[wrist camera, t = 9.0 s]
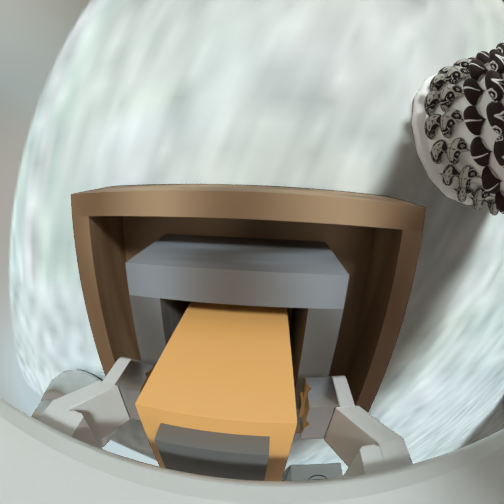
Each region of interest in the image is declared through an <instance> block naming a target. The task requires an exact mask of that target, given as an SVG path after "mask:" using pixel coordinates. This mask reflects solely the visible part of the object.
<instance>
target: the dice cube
mask: <svg viewBox="0 0 504 504" xmlns="http://www.w3.org/2000/svg"><path fill="white" fill-rule="evenodd" d="M342 477H343V475H342V469H341V463H330V464H310V465H291V466H290V469H289V471H288V473H287V476H286V478H285V480H284V481H308V480H323V479H334V478H342Z"/></svg>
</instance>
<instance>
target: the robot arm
mask: <svg viewBox="0 0 504 504" xmlns="http://www.w3.org/2000/svg"><path fill="white" fill-rule="evenodd" d="M155 365H156V364H154V363H149V362H144V361H140V360H135V359H129V358H125V357H120V358H119V359H118V360H117V361H116V363H115V364H114V366H113V367H112V368H111V370H110V371H109V373H108V374H107V375H106V377H105V378H104V380H103V381H97V382H95V383H93V384H90V385H88V386H86V387H84V388H81V389H79V390H77V391H74V392H72V393H69V394H67V395H65V396H62V397H60V398H57V399H55V400H53V401H52V402H51V403H50V404H49V406H48V407H47V408H46V410H45V411H44V412H43V414H42V415H41V416H40V417H39V419H38V420H37V419H35V418H33V417H31V416H29V415H28V414H26V413H24V412H23V411H21V410H19V409H18V408H16V407H14V406H13V405H11V404H10V403H8V402H6V401H5V400H3V399H2V398H0V504H504V429H502V430H500V431H498V432H496V433H494V434H492V435H490V436H488V437H486V438H483V439H481V440H479V441H477V442H474V443H472V444H470V445H467V446H465V447H462V448H460V449H457V450H455V451H452V452H449V453H446V454H444V455H441V456H438V457H435V458H431V459H428V460H425V461H422V462H418V463H415V464H413V463H412V461H411V458H410V455H409V452H408V450H407V447H406V444H405V442H404V439H403V438H402V437H401V436H399V435H398V434H396V433H395V432H394V431H392V430H391V429H389V428H388V427H387V426H385V425H384V424H383V423H381V422H380V421H378V420H377V419H376V418H374V417H373V416H372V415H370V414H369V413H368V412H366V411H365V410H364V409H362V408H361V407H360V406H355V405H354V401H353V398H352V395H351V392H350V389H349V385H348V382H347V379H346V377H345V376H331V377H330V376H326V377H304V378H303V382H302V390H303V391H302V392H301V393H300V397H299V405H298V409H299V417H300V418H301V422H300V434H301V439H322V438H324V440H325V441H326V442H327V444H328V445H329V446H330V447H331V448H332V449H333V450H334V451H335V453H336V454H337V455H338V456H339V457H340V458H341V459H342V460H343V461H344V463H345V464H346V465H347V466H348V467H349V468H348V469H347V471H346V472H345V474H344V475H343V477H342V478H334V479H323V480H308V481H255V480H240V479H229V478H220V477H212V476H205V475H198V474H192V473H187V472H181V471H176V470H172V469H167V468H163V467H158V466H154V465H150V464H147V463H143V462H139V461H136V460H133V459H129V458H126V457H123V456H120V455H116V454H114V453H111V452H108V451H105V450H103V449H102V448H101V446H100V444H99V443H98V441H100V440H101V439H103V438H104V437H106V436H107V435H109V434H110V433H111V432H113V431H114V430H116V429H117V428H119V427H120V426H122V425H123V424H124V423H126V422H127V421H129V420H130V419H135V420H139V421H141V419H140V417H139V414H138V411H137V408H136V405H135V403H136V401H137V399H138V397H139V395H140V393H141V392H142V390H143V388H144V386H145V384H146V382H147V380H148V378H149V376H150V375H151V373H152V371H153V369H154V367H155Z"/></svg>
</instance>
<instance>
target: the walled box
mask: <svg viewBox="0 0 504 504" xmlns="http://www.w3.org/2000/svg"><path fill="white" fill-rule="evenodd" d="M71 206H72V220H73V230H74V239H75V248H76V255H77V262H78V268H79V274H80V280H81V285H82V291H83V296H84V300H85V305H86V309H87V314H88V318H89V322H90V326H91V330H92V334H93V337H94V341H95V344H96V348H97V351H98V354H99V358H100V361H101V364H102V367H103V370H104V373H105V376H106V375H107V374H108V373H109V371H110V370H111V368H112V367H113V366H114V364H115V363H116V361H117V360H118V359H119V358H120V357H125V358H129V359H135V360H140V361H144V362H149V363H154V364H157V362H158V360H159V358H160V356H161V354H162V352H163V351H164V349H165V347H166V345H167V343H168V342H169V340H170V338H171V336H172V334H173V333H174V331H175V329H176V327H177V325H178V324H179V322H180V320H181V318H182V316H183V315H184V313H185V311H186V309H187V308H188V306H189V304H190V302H191V301H193V302H205V303H217V304H231V305H247V306H265V307H287V316H288V325H289V335H290V345H291V356H292V366H293V378H294V389H295V401H296V414H297V426H296V430H295V433H300V422H301V418H300V417H299V409H298V405H299V397H300V393H301V392H302V391H303V390H302V382H303V378H304V377H326V376H330V377H331V376H345V377H346V379H347V382H348V385H349V389H350V392H351V395H352V398H353V401H354V405H355V406H360V407H361V408H362V409H364V410H365V411H366V412H369V410H370V408H371V405H372V403H373V401H374V399H375V396H376V394H377V392H378V389H379V387H380V384H381V382H382V379H383V377H384V374H385V372H386V369H387V366H388V364H389V361H390V358H391V355H392V352H393V349H394V347H395V344H396V341H397V337H398V334H399V331H400V328H401V325H402V321H403V318H404V314H405V311H406V307H407V303H408V300H409V296H410V292H411V288H412V283H413V279H414V275H415V270H416V265H417V260H418V255H419V250H420V244H421V238H422V232H423V225H424V218H425V210H426V208H425V207H422V206H419V205H416V204H413V203H409V202H406V201H403V200H399V199H396V198H392V197H389V196H381V195H373V194H364V193H355V192H345V191H334V190H323V189H310V188H296V187H280V186H259V185H230V184H152V185H123V186H111V187H105V188H100V189H94V190H89V191H84V192H79V193H74V194H71Z"/></svg>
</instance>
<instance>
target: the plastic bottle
mask: <svg viewBox="0 0 504 504" xmlns="http://www.w3.org/2000/svg"><path fill="white" fill-rule="evenodd" d="M97 381H101V380H100V379H98V378H97V377H95V376H93V375H91V374H90V373H87V372H85V371H81V370H68V371H64V372H63V373H61V374H60V375H58V376H57V377H56V378H54V379H53V380H52V381H51V383H50V384H49V386H48V388H47V389H46V391H45V393H44V395H43V397H42V399H41V402H40V404H39V406H38V407H37V409H36V410H35V412H34V413H33V415H32V416H31V417H33V418H35V419H37V420H38V419H39V417H40V416H41V415H42V414H43V412H44V411H45V410H46V408H47V407H48V406H49V404H50V403H51V402H52V401H53V400H55V399H57V398H60V397H62V396H65V395H67V394H69V393H72V392H74V391H77V390H79V389H81V388H84V387H86V386H88V385H90V384H93V383H95V382H97ZM117 429H118V428H117ZM117 429H116V430H114V431H113V432H111V433H110V434H109V435H107V436H106V437H104V438H103V439H101V440H100V441H98V443H99V444H100V446H101V448H102V447H104V446H105V445H106V443H108V442H109V440H110V439H111V438H112V437H113V435H114V434H115V433H116V431H117Z"/></svg>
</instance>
